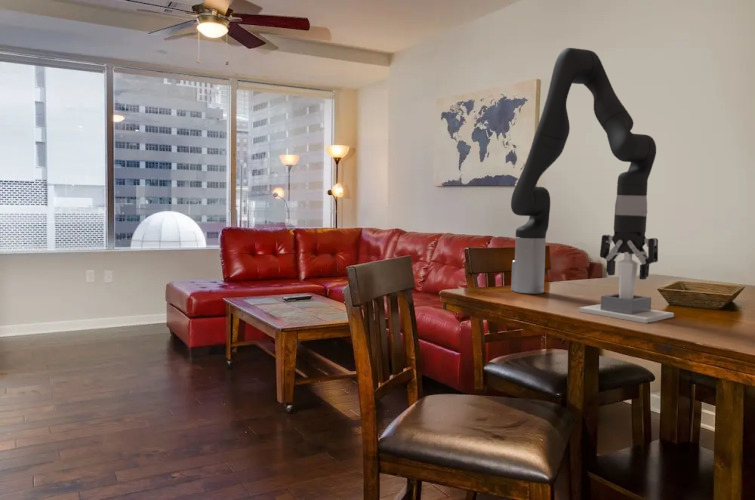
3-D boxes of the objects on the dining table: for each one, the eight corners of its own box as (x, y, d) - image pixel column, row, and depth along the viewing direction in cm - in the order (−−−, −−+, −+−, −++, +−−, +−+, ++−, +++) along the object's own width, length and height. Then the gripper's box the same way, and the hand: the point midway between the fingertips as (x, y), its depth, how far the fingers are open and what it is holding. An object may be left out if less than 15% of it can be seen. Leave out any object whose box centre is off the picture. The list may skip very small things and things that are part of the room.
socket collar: (600, 309, 153) (601, 296, 153) (619, 306, 159) (620, 293, 159) (631, 314, 147) (632, 300, 146) (650, 310, 152) (651, 297, 152)
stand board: (578, 311, 155) (578, 307, 155) (607, 306, 164) (607, 302, 164) (645, 323, 141) (645, 319, 141) (673, 316, 150) (673, 312, 150)
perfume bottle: (637, 312, 150) (640, 253, 149) (618, 311, 151) (621, 252, 150) (633, 309, 154) (636, 251, 153) (615, 308, 155) (618, 251, 154)
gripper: (596, 212, 154) (593, 274, 155) (650, 214, 143) (646, 281, 144) (612, 212, 159) (609, 273, 160) (665, 214, 147) (661, 279, 149)
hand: (626, 277), depth 152 cm, fingers open, 8 cm apart
